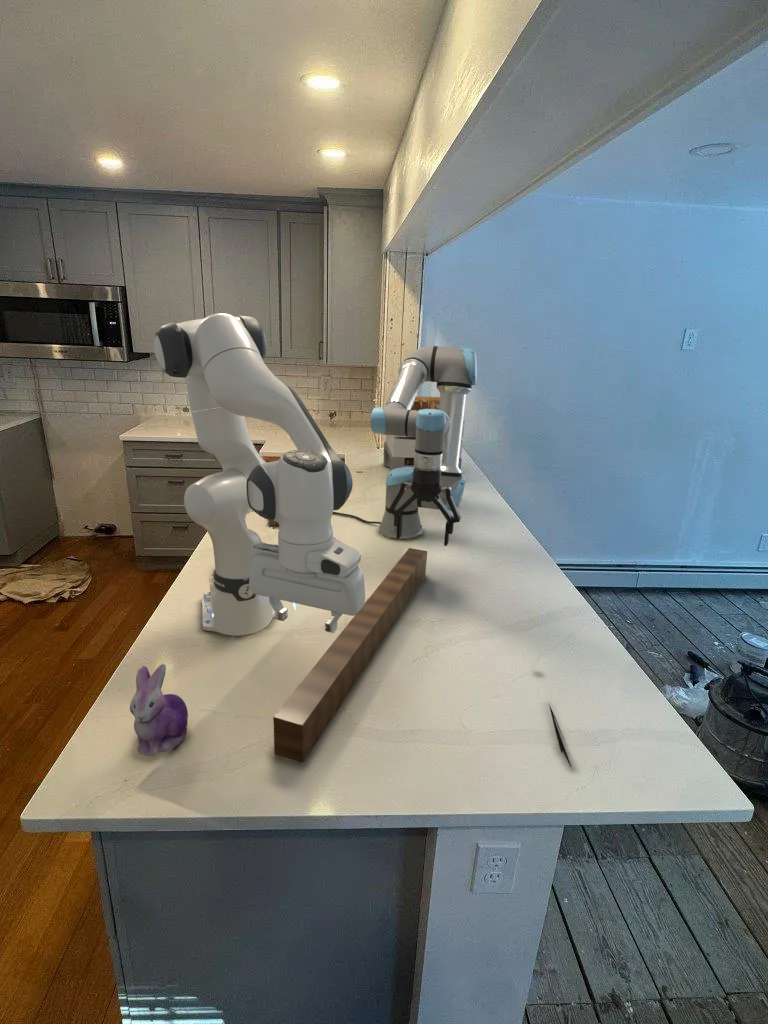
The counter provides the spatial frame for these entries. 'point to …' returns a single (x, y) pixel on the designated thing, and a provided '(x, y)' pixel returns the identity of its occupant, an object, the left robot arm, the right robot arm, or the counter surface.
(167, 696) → the figurine
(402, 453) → the transformer
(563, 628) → the counter surface
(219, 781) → the counter surface
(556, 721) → the feather
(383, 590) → the bar
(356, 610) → the left robot arm
